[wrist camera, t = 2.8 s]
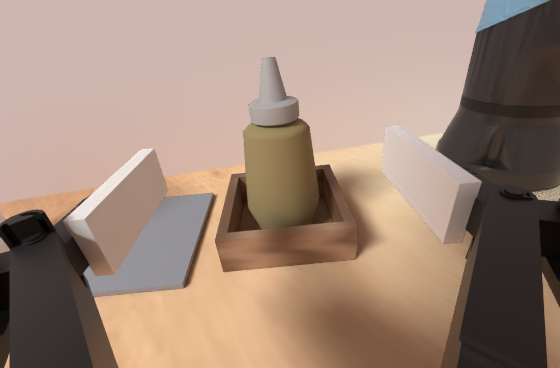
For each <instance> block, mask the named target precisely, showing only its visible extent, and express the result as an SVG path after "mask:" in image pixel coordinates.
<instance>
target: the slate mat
mask: <svg viewBox="0 0 560 368" xmlns="http://www.w3.org/2000/svg"><path fill="white" fill-rule="evenodd" d="M213 198H214V194H213V193H205V194H195V195H185V196H175V197H165V198H163V199H162V201H161V202H160V204H159V206H158V207H157V209H156V210H155V212H154V213H153V215H152V217H151V218H150V220H149V221H148V223H147V224H146V226H145V228H144V229H143V231H142V232H141V234H140V236H139V237H138V239H137V240H136V242H135V243H134V245H133V247H132V248H131V250H130V251H129V253H128V254H127V256H126V258H125V259H124V261H123V262H122V264H121V266H120V267H119V269H118V270H117V272H116V273H115V275H104V276H95V274H94V273H93V271H92V269H91V268H90V266H88V268H87V269H86V270H85V272H84V273H83V274H84V275H85V277H86V278H87V280H88V283H89V286H90V289H91V292H92V294H93V297H97V296H107V295H118V294H128V293H139V292H149V291H159V290H170V289H180V288H184V287H185V284H186V281H187V277H188V274H189V271H190V268H191V265H192V262H193V259H194V256H195V253H196V250H197V247H198V244H199V241H200V238H201V234H202V231H203V228H204V225H205V222H206V219H207V216H208V213H209V210H210V207H211V204H212V201H213Z"/></svg>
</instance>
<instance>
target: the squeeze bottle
mask: <svg viewBox="0 0 560 368" xmlns="http://www.w3.org/2000/svg"><path fill="white" fill-rule="evenodd" d="M248 105H249V112H250V118H251V122H252V123H251V124H250V125H249V126H248V127H247V128H246V129H245V130H244V131H243V138H244V153H245V168H246V184H247V199H248V209H249V210H250V212H251V213H252V215H253V216H254V218H255V220H256V221H257V223H258V224H259V226H260V228H261V229H271V228H282V227H292V226H302V225H310V224H311V221H312V218H313V216H314V213H315V210H316V208H317V205H318V201H319V190H318V183H317V176H316V169H315V162H314V155H313V148H312V141H311V134H310V127H309V126H308V124H307V123H306V122H304V121H303V120H302V119H299V118H298V117H299V105H298V100H297V99H296V98H295V97H291V96H286V93H285V89H284V86H283V82H282V79H281V76H280V72H279V69H278V65H277V62H276V58H275V57H269V58H262V62H261V75H260V89H259V99H257V100H254V101H252V102H251V103H249V104H248Z"/></svg>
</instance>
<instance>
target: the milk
mask: <svg viewBox="0 0 560 368" xmlns="http://www.w3.org/2000/svg"><path fill="white" fill-rule="evenodd" d="M5 220H6V219H5V218H4V217H3V216H2V214H1V213H0V224H1V223H2V222H3V221H5ZM7 251H10V249H9V248H8V246H7V245H6V244H5V243H4V241H3V240H2V239H1V237H0V253H3V252H7Z"/></svg>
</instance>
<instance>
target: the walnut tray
mask: <svg viewBox="0 0 560 368" xmlns="http://www.w3.org/2000/svg"><path fill="white" fill-rule="evenodd" d="M315 169H316V176H317V183H318V190H319V195H324V198H325V201H326V204H327V207H328V210H329V213H330V215H331V218H332V221H333V222H332V223H322V224H312V225H302V226H292V227H282V228H271V229H261V230H251V231H241V232H239V230H240V223H241V216H242V209H243V203H246V202H248V199H247V184H246V173H240V174H232V175H231V179H230V183H229V187H228V191H227V195H226V199H225V203H224V207H223V211H222V215H221V219H220V223H219V227H218V231H217V235H216V239H215V243H216V247H217V250H218V254H219V258H220V261H221V265H222V268H223V272H229V271H239V270H249V269H260V268H270V267H280V266H291V265H301V264H311V263H322V262H332V261H343V260H353V259H356V251H357V236H358V226H357V224H356V221H355V219H354V217H353V215H352V213H351V211H350V208H349V206H348V204H347V202H346V200H345V198H344V195H343V193H342V191H341V189H340V187H339V184H338V182H337V180H336V178H335V176H334V174H333V171H332V169H331V167H330V165H320V166H315Z"/></svg>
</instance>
